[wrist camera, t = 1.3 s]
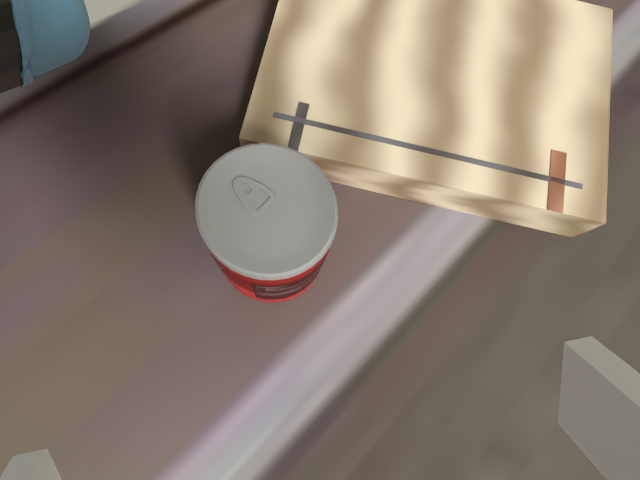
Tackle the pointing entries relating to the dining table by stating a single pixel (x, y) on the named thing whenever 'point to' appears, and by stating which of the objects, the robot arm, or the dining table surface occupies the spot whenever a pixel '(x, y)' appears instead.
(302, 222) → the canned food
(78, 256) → the dining table surface
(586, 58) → the maple plank
